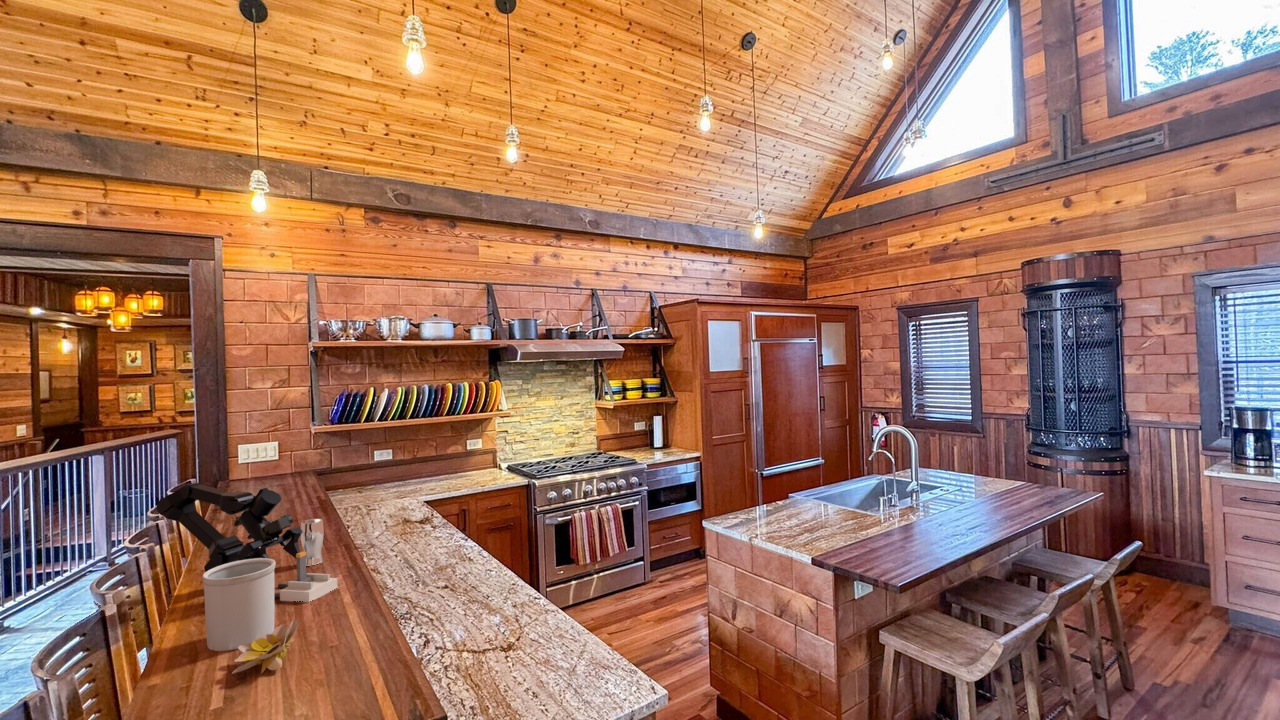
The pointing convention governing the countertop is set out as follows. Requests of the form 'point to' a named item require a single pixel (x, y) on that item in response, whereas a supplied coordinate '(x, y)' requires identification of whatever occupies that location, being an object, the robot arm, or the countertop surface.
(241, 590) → the utensil holder
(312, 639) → the countertop surface
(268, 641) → the decorative flower
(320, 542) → the beer glass
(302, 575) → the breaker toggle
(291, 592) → the box
